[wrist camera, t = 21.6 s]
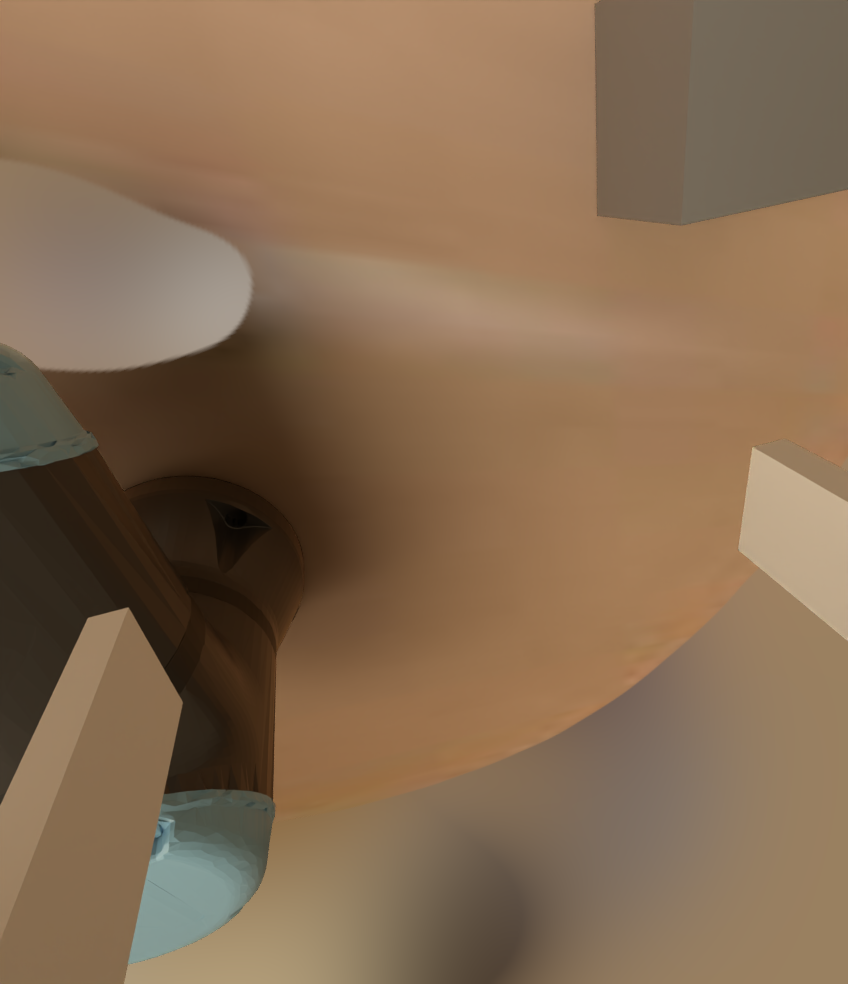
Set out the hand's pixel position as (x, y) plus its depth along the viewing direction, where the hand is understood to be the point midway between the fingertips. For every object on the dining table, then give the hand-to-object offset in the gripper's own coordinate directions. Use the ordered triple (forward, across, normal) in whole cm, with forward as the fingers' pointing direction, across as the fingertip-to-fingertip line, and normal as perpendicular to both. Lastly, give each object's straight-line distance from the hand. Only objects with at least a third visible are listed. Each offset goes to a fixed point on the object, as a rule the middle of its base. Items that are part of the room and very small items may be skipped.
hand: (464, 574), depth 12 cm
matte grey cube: (+27, -21, -8) cm, 35 cm away
